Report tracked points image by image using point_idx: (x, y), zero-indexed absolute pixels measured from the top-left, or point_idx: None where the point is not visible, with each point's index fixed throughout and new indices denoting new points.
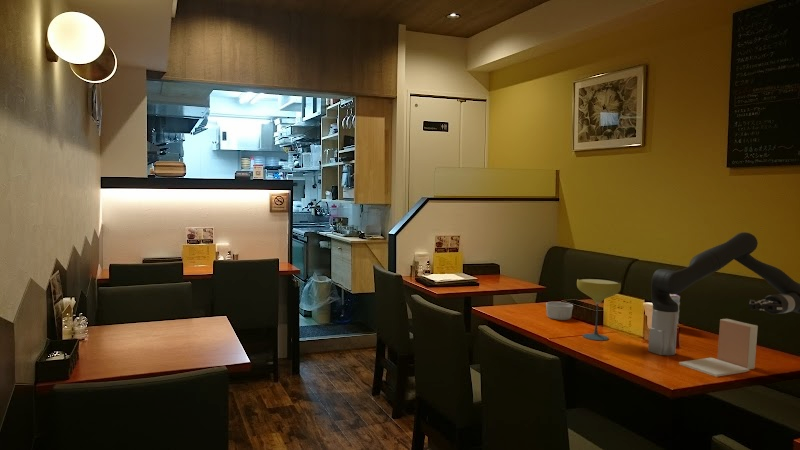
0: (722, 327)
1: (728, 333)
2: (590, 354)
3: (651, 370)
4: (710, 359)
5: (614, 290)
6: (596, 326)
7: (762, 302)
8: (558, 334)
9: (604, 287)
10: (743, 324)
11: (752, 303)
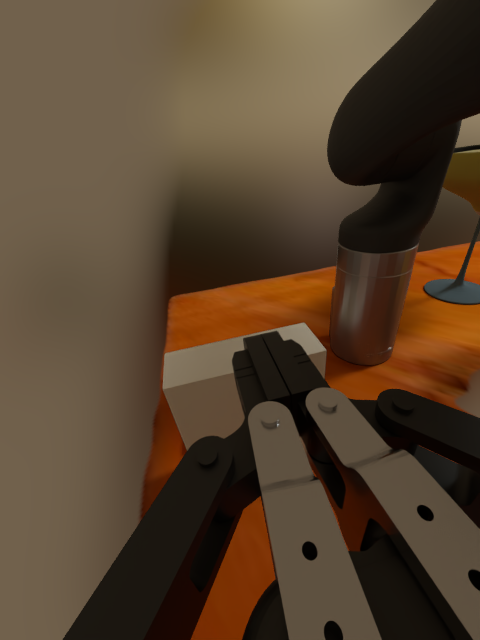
0: None
1: None
2: (319, 272)
3: (240, 301)
4: None
5: (450, 174)
6: (461, 268)
7: (412, 561)
8: (444, 263)
9: None
10: (204, 349)
11: (288, 350)
